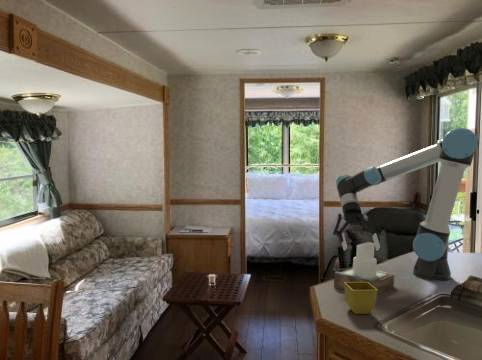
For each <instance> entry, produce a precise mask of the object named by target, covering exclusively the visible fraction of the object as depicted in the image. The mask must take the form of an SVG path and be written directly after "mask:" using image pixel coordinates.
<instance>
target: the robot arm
mask: <svg viewBox="0 0 482 360" xmlns="http://www.w3.org/2000/svg"><path fill="white" fill-rule="evenodd" d="M478 144H479V141H478V138H477V135H476V134H475V133H474V132H473V131H472V130H471V129H469V128H465V127H456V128H453V129H451V130H449V131H448V132H447V133H445V135H444V136H443V138H441V139H439V140H437V142H436V143H435V144H433V145H430V146H426V147H425V148H422V149H420V150H417V151H415V152H412V153H410V154H407V155H405V156H401V157H398V158H397V159H394V160H391V161H389V162H386V163H384V164H382V165H378V166H373V165H372V166H370V167H368V168H365V169H363V170H361V171H360V172H358V173H355V174H354V175H352V176H351V175H350V174H344V175H340V176H338V177H337V178H336V181H335V184H336V191H337V192H338V196H339V197H338V198H339V201H340V205H341V209H342V214H341V213H338V214H337V217H336V219H337V220H336V224H335V226H334V230H333V233H332V234H333V236H336V237H337V238H338V240H339V243H341V246H342V249H343V251H344V252H345V251H346V250H347V249H348V245H347V241H346V236H345V233H344V231H345V230H346V229H347V227H348V226H349V225H350V226H360V227H362V228H364V230H365V231H367V232H368V233H370V234H371V235H372V240H373V243H375V244H374V249H375V250H376V251H379V249H380V248H381V245H380V240H381V239H380V238H381V237H380V235H382V232H383V230H382V228H380V226H379V225H378V224H377V223H376V222H375V221H374V220H373V218H372V216H371V214H370V213H367V214H365V215H363V213H362V210H361V209H362V208H361V205H360V202H359V197H358V194H357V193H359V192H362V191H363V190H366V189H368V188H370V187H373V186H377V185H380V184H383V183H386V182H388V181H390V180H393V179H395V178H398V177H401V176H404V175H406V174H409V173H411V172H414V171H417V170H418V171H419V170H421V169H423V168H425V167H428V166H431V165H435V164H436V163H439V162H440V163H441V164H440V168H439V172H438V174H437V178H436V181H435V185H434V189H433V192H432V196H431V199H430V203H429V205H428V208H427V209H428V210H427V213H426V216H425V219H424V220H423V221H421V222H419V225H418V229H417V232H416V236H415V237H414V239H413V240H412V249H413V251H414V254H415V255H416V256H417V259H416V260H415V264H414V265H413V268H412V270H413V271H412V273H413V275H414V276H415V277H418V278H421V279H424V280H429V281H440V282H441V281H443V282H444V281H448V280H451V279H452V277H451V275H452V273H451V268H450V265H449V262H448V256H449V254H448V253H449V240H450V239H449V237H450V235H451V230H450V227H449V224H450V220H451V216H452V213H453V210H454V207H455V203H456V200H457V197H458V195H459V190H460V188H461V187H460V186H461V183H462V180H463V177H464V174H465V171H466V169H468V168H469V167H471V166H472V163H473V161H474V156H475V152H476V150H477V148H478V147H479V146H478ZM342 220H344V221H345V223H344V224H343V225H342V227H341V228H340V229H339V227H340V224H341V222H342Z"/></svg>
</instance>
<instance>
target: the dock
mask: <svg viewBox="0 0 482 360" xmlns="http://www.w3.org/2000/svg"><path fill="white" fill-rule="evenodd" d="M333 273H334V277H333V287H334V288H336V289H340V290H344V291H345V286H344V282H369V283H370V284H371V285H372V286H373V287H375V288H376V289H377V290H378V292H377V296H378V295H380V294H383V293H384V292H386V291H388V290H390V289H393V288H394V287H395V274H394V273H393V274H392V273H389V272H385V271H381V270H378V269H376V276H375V277H360V276H356V275H354V274H353V267H352V268H349V269H346V270H343V271H334V272H333Z"/></svg>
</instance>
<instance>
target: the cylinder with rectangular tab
mask: <svg viewBox="0 0 482 360" xmlns="http://www.w3.org/2000/svg"><path fill="white" fill-rule="evenodd" d="M355 254H356V256H354V257H353V259H352V261H353V262H352V268H353V274H354V275H356V276H360V277H375V276H376V270H377V264H378V260H377V258H375V243H374V242H370V241H367V242H363V243H359V244H357V245H356V253H355Z"/></svg>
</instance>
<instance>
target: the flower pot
mask: <svg viewBox="0 0 482 360" xmlns="http://www.w3.org/2000/svg"><path fill="white" fill-rule="evenodd" d="M344 286H345V290H344V295H345V296H344V297H345V300H346V303H347V305H348V308H349V309H350V310H351V311H352V313H354V314H355V315H369V314H370V313H371V312H372V311H373V309H374V308H375V306H376V303H377V296H378V295H377V292H378V290H377V289H376V288H375V287H373V286H372V285H371V284H370V283H369V282H344Z"/></svg>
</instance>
